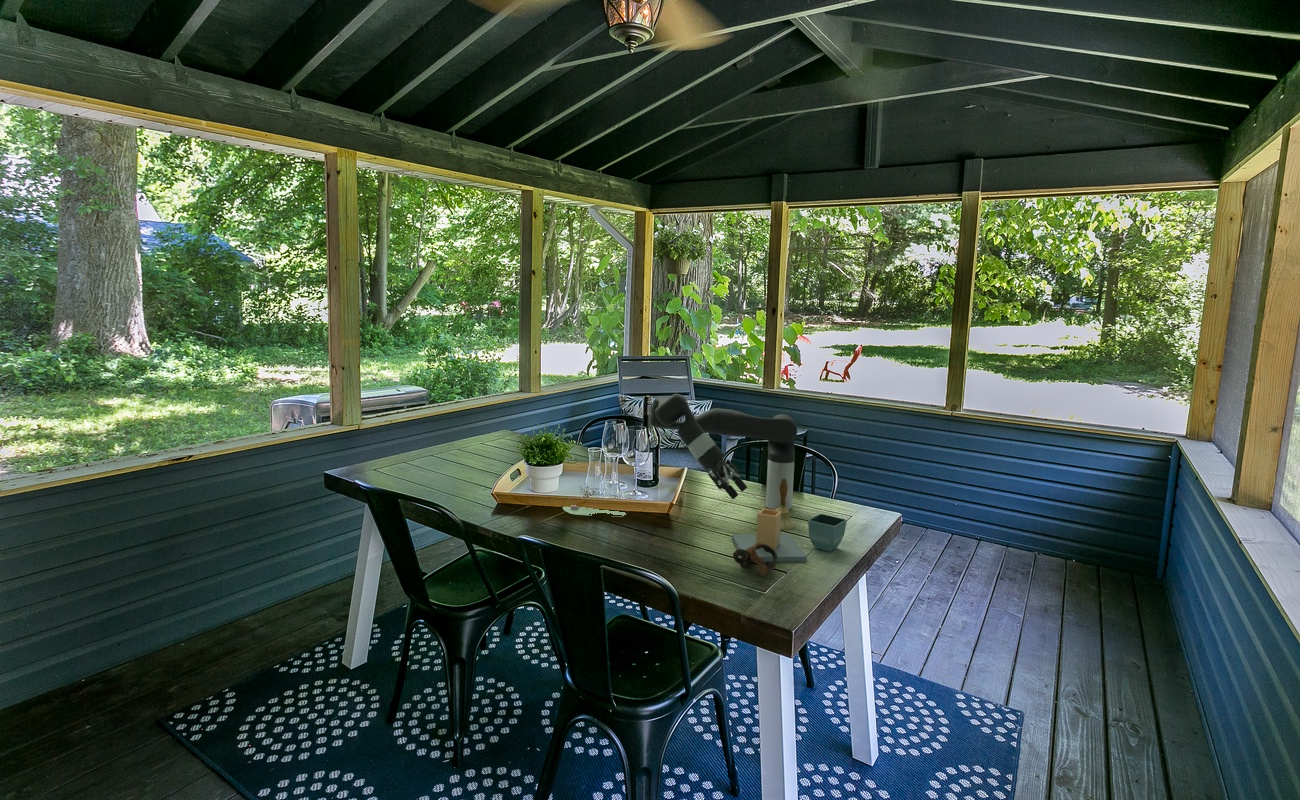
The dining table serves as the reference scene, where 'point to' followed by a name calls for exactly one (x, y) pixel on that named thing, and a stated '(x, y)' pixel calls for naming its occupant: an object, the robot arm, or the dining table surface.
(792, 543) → the post board
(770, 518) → the collar
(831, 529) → the flower pot
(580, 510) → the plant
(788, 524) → the hand bell
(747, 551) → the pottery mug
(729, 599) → the dining table surface
